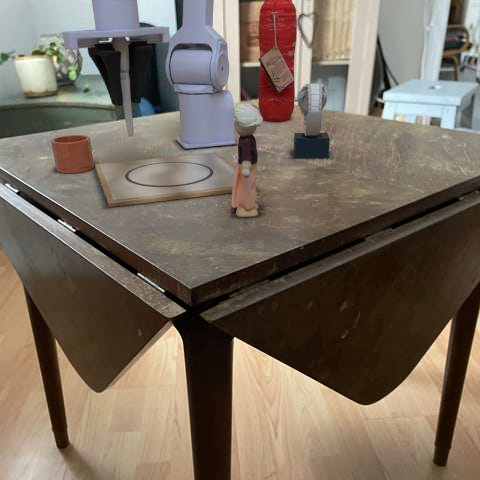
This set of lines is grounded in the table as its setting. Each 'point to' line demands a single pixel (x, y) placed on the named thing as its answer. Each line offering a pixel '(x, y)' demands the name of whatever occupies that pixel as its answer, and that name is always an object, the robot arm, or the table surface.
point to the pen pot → (72, 153)
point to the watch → (311, 123)
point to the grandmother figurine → (246, 161)
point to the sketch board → (165, 178)
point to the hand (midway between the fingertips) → (126, 103)
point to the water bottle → (277, 59)
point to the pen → (125, 80)
